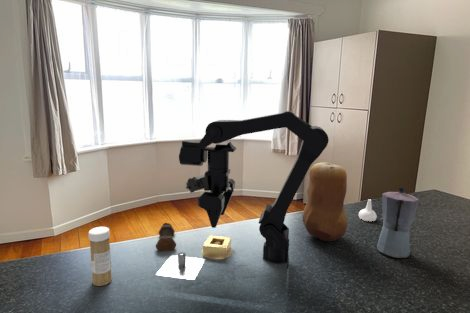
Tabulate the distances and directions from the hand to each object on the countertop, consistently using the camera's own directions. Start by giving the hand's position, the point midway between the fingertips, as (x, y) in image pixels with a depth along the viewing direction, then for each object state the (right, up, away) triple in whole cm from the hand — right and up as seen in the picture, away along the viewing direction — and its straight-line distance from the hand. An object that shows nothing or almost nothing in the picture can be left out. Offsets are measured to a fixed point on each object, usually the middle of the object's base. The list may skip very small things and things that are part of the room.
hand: (217, 220), depth 87 cm
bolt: (-16, -9, +9) cm, 21 cm away
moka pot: (+52, -11, +5) cm, 54 cm away
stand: (0, -10, +2) cm, 10 cm away
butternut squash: (+34, -9, +14) cm, 37 cm away
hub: (-9, -12, -6) cm, 16 cm away
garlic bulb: (+55, -6, +31) cm, 63 cm away
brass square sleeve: (0, -9, +2) cm, 9 cm away
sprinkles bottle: (-27, -13, -12) cm, 32 cm away
